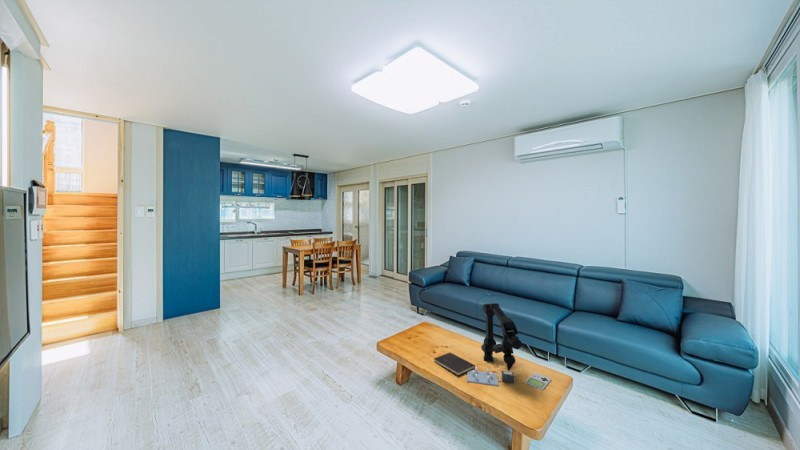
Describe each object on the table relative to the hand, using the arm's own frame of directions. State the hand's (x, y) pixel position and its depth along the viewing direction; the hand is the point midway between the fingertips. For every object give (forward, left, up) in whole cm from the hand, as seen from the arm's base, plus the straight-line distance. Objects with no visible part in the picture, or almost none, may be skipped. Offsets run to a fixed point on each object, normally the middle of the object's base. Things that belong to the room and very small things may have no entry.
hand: (507, 366), depth 169 cm
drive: (0, 0, -9) cm, 9 cm away
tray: (+1, -15, -9) cm, 17 cm away
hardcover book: (-10, -33, -9) cm, 35 cm away
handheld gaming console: (-4, +18, -10) cm, 21 cm away
